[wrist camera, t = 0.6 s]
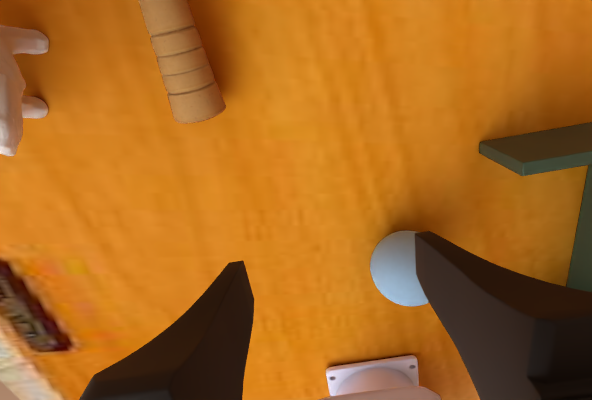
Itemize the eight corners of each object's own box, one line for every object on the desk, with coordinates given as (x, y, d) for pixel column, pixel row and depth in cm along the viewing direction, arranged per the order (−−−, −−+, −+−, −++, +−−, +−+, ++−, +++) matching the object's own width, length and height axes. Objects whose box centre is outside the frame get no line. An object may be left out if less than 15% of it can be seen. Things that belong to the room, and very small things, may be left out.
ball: (431, 269, 26) (462, 316, 21) (366, 280, 26) (383, 328, 22) (430, 212, 24) (464, 250, 19) (360, 224, 24) (377, 264, 20)
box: (574, 293, 27) (630, 341, 23) (471, 309, 28) (506, 359, 23) (609, 118, 22) (693, 136, 17) (479, 141, 22) (528, 165, 17)
